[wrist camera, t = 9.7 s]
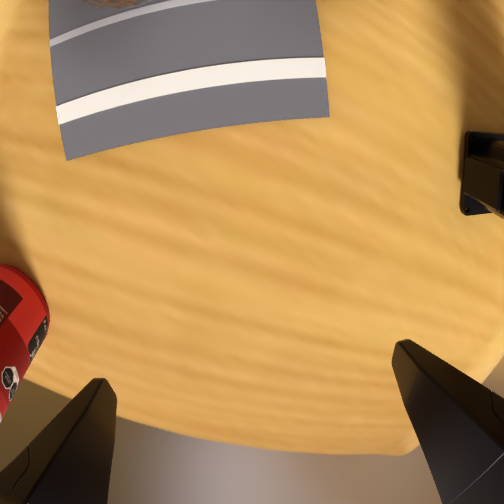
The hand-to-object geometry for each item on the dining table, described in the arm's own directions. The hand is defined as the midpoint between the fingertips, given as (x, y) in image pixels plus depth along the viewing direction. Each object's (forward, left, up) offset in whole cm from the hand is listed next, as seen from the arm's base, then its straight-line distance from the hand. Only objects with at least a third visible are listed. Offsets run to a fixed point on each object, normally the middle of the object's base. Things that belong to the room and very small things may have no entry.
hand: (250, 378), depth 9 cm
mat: (+2, -14, -12) cm, 19 cm away
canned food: (+20, +4, -13) cm, 24 cm away
